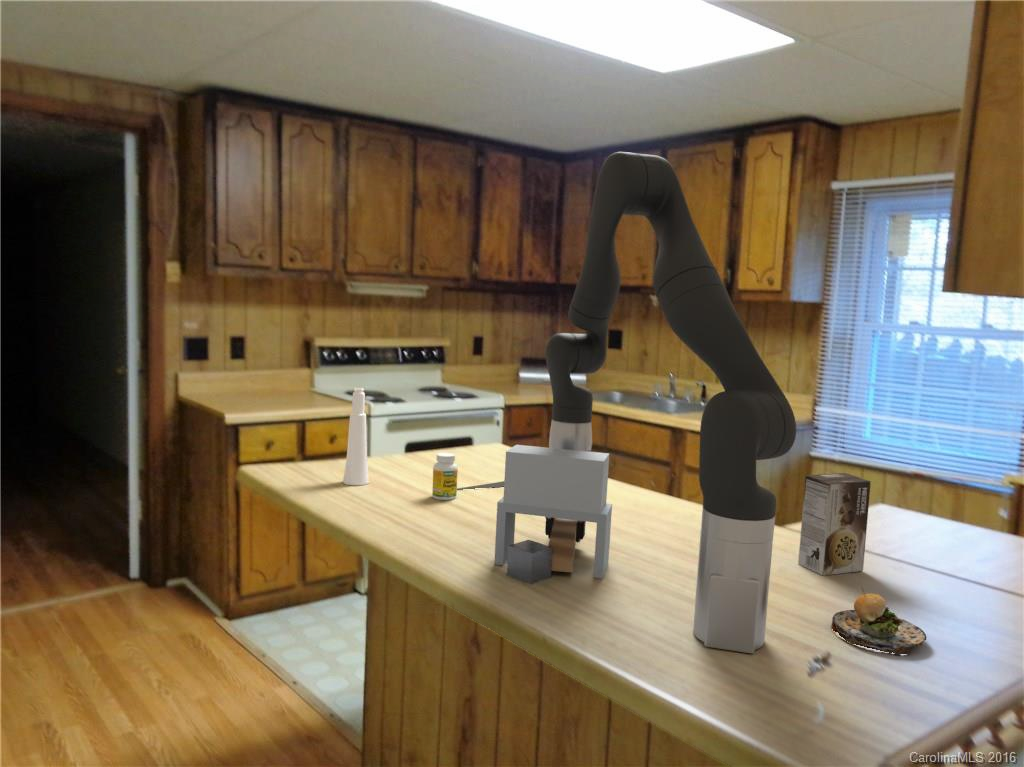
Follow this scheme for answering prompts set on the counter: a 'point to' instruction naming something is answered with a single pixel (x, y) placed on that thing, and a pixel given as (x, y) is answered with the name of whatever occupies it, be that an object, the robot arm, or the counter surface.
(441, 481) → the supplement bottle
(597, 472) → the cabinet
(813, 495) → the coffee box
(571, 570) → the bar
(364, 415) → the cosmetic bottle
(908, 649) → the burger
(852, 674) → the counter surface
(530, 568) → the cube
